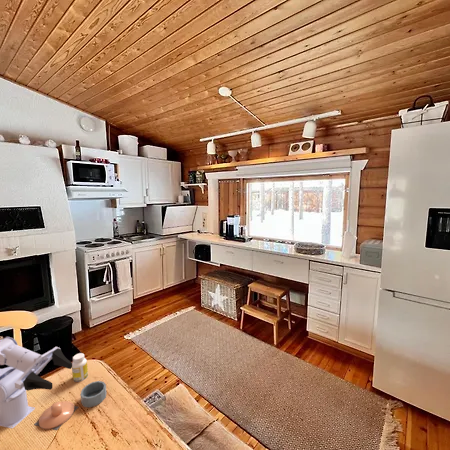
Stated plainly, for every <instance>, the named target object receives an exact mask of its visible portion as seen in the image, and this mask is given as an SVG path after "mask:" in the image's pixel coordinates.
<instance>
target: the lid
mask: <svg viewBox="0 0 450 450" xmlns="http://www.w3.org/2000/svg"><path fill="white" fill-rule="evenodd" d="M74 406H75V404H74V403H73V402H72V401H69V400H66V401H65V400H63V401H57V402H54V403H52V404H51V406H49V407H47V408H46V409H45V410H44V411H43V412H42V413H41V414H40V415H39V418H38V420H39V426H38V427H39V428H41V429H43V430H53V429H52V428H55V427H58V426H60V425H61V426H63V424H65V423H66V422H67V421H69V420H70V419H71V417H72V416H73V415H74Z"/></svg>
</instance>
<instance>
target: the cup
mask: <svg viewBox="0 0 450 450" xmlns="http://www.w3.org/2000/svg"><path fill="white" fill-rule="evenodd" d="M79 396H80V401H81V404H82V406H83V407H84V408H92V407H97V406H98V405H100V404H101V403H102V402H104V400H106V398H107V384H106V382H105V381H101V380H97V381H92V382H90V383H88V384H86V385H85V386H84V387H83V388H82V389H81V392H80V395H79Z"/></svg>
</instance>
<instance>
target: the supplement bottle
mask: <svg viewBox="0 0 450 450" xmlns="http://www.w3.org/2000/svg"><path fill="white" fill-rule="evenodd" d="M71 363H72V368H71V374H72V380H73V382H75V383H80V382H83V381H84V380H86V379H87V378H88V377H89V369H88V360H87V358H85V354H84V353H82V352H79V353H76V354H75V355H74V356H72V362H71Z"/></svg>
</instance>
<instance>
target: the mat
mask: <svg viewBox="0 0 450 450" xmlns="http://www.w3.org/2000/svg"><path fill="white" fill-rule="evenodd" d="M78 408H79V406H78V405H77V406H76V405H74V412H76V410H77V409H78ZM33 425H34V426H37V427H40V426H39V419H38V420H37V421H36V422H35V423H34V424H33ZM61 427H62V425H60V426H58V427H55V428H52V429H51V430H53V431H58V430H59V429H60V428H61Z"/></svg>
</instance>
